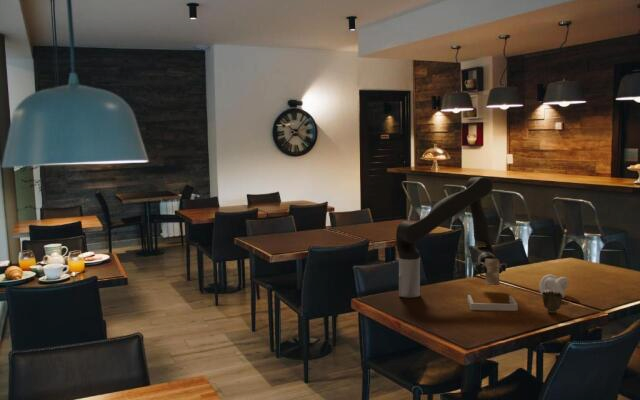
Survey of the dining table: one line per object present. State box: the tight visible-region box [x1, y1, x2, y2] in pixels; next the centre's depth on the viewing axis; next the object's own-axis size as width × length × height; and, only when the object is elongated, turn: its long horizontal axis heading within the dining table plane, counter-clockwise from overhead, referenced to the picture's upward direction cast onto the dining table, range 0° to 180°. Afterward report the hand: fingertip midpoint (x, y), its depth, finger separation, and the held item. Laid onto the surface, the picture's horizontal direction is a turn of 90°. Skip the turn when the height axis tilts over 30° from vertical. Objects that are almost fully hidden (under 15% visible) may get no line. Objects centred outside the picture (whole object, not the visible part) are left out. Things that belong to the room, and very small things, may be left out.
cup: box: [541, 291, 563, 315], centre depth 228 cm, size 8×7×8 cm
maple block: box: [484, 258, 500, 286], centre depth 240 cm, size 5×5×10 cm
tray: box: [467, 294, 519, 312], centre depth 240 cm, size 18×13×2 cm
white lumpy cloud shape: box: [538, 273, 569, 299], centre depth 252 cm, size 11×12×9 cm
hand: (493, 270), depth 237 cm, fingers closed on maple block, 5 cm apart
